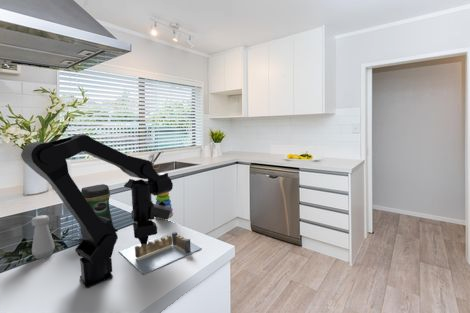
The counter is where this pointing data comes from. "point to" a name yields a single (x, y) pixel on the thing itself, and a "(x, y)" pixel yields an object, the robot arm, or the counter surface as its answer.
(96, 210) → the coffee jar
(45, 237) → the salt shaker
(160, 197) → the stacking toy
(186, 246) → the fixed fence section
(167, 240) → the folding fence panel
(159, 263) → the card
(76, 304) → the counter surface
